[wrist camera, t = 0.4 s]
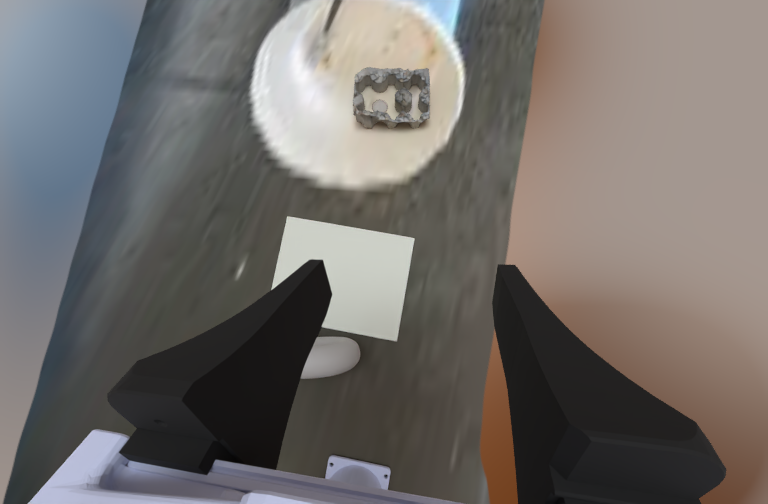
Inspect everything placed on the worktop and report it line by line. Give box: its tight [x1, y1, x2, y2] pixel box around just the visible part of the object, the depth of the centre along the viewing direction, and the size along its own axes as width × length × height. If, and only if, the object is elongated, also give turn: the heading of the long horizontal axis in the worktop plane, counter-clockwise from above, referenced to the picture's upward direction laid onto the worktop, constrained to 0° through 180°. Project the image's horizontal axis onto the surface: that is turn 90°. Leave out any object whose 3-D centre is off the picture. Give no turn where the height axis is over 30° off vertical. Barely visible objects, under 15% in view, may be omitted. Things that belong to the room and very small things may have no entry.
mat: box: [271, 216, 415, 341], centre depth 42 cm, size 14×18×1 cm
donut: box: [300, 337, 360, 379], centre depth 36 cm, size 10×4×10 cm, turn 93°
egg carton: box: [353, 67, 430, 129], centre depth 43 cm, size 11×8×4 cm
